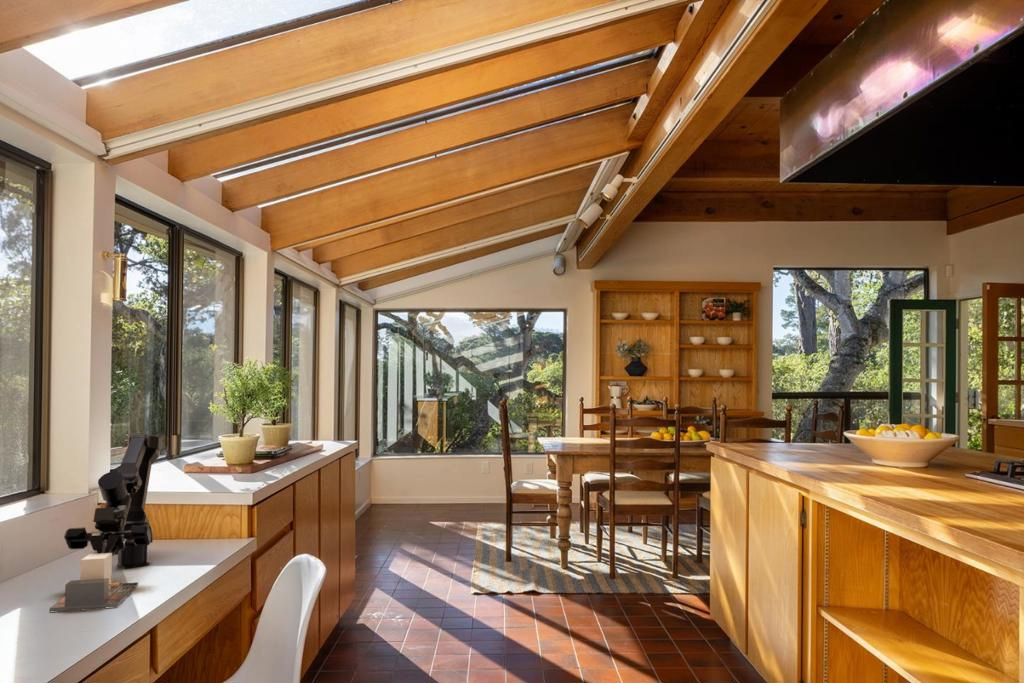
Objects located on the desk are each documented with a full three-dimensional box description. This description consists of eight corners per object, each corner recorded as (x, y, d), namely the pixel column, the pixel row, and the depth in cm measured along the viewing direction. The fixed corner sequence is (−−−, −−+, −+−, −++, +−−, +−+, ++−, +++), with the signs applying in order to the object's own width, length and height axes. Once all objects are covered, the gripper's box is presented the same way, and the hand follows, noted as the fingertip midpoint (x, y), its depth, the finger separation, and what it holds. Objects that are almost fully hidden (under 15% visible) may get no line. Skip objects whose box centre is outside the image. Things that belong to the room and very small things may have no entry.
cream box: (76, 592, 171) (78, 554, 172) (122, 589, 174) (123, 552, 174) (67, 599, 166) (69, 560, 166) (114, 596, 168) (116, 557, 169)
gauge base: (76, 590, 177) (77, 566, 178) (138, 586, 181) (138, 562, 181) (49, 612, 160) (50, 585, 160) (117, 607, 164) (118, 581, 164)
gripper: (68, 495, 177) (49, 550, 166) (149, 492, 182) (137, 545, 170) (78, 521, 184) (60, 575, 173) (156, 518, 189) (144, 570, 178)
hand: (100, 566), depth 173 cm, fingers closed
